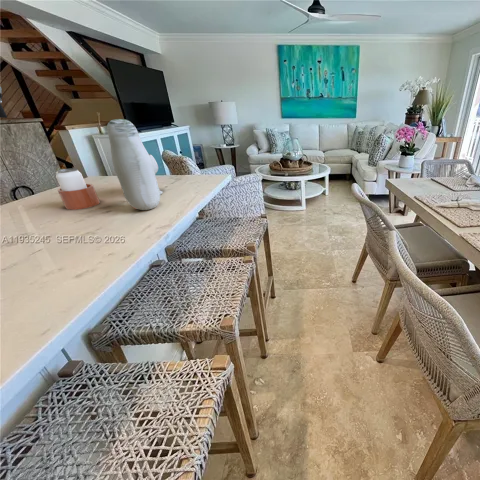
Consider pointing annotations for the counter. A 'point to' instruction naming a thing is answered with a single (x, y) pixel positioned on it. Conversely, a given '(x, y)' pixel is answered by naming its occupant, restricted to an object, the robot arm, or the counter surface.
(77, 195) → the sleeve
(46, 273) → the counter surface
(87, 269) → the counter surface
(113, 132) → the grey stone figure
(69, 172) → the can
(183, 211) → the counter surface
